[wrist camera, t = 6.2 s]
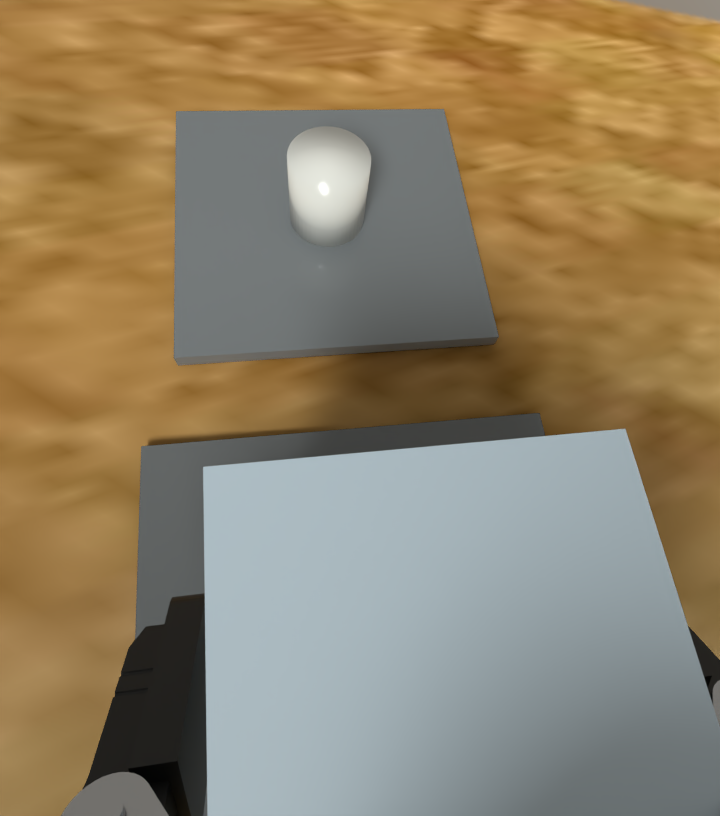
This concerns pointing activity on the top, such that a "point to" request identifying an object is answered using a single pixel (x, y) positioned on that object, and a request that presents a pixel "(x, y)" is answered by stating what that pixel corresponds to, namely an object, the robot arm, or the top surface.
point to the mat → (183, 462)
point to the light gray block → (449, 637)
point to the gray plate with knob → (322, 236)
